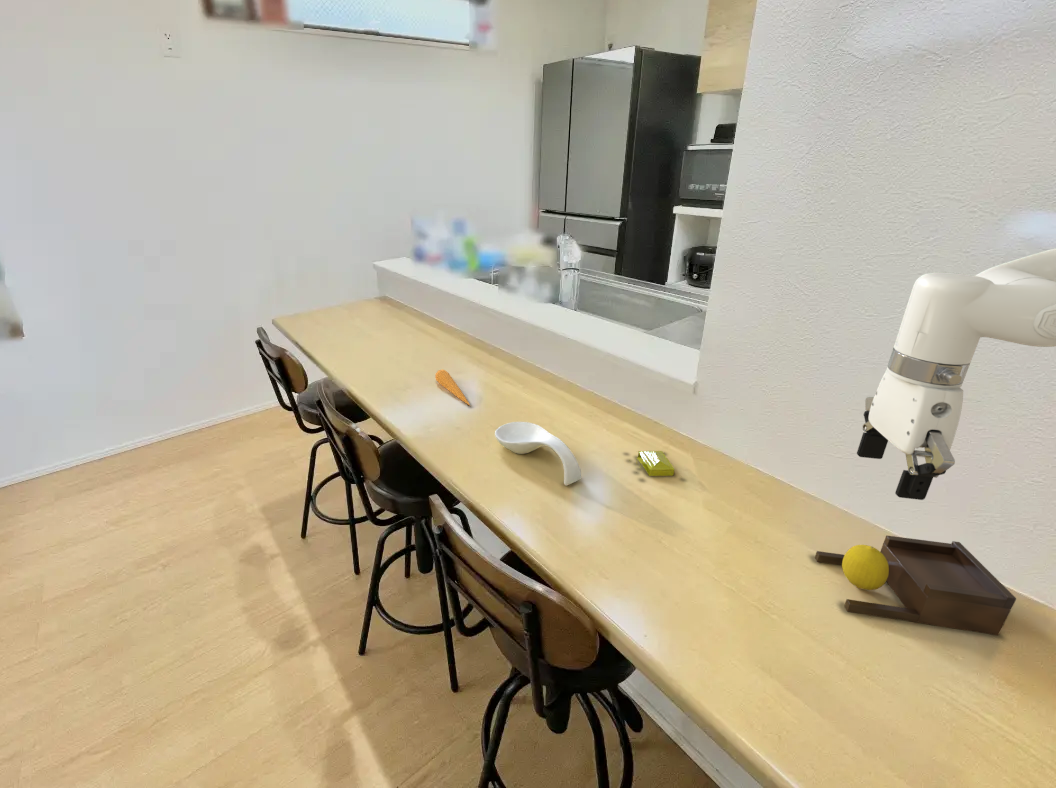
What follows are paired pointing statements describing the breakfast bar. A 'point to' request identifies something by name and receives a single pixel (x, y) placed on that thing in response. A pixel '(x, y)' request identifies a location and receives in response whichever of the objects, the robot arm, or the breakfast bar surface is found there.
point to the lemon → (865, 567)
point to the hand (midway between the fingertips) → (887, 475)
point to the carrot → (450, 384)
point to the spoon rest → (538, 445)
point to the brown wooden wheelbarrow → (937, 586)
